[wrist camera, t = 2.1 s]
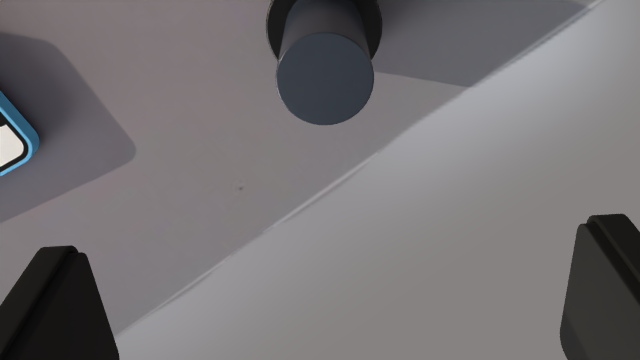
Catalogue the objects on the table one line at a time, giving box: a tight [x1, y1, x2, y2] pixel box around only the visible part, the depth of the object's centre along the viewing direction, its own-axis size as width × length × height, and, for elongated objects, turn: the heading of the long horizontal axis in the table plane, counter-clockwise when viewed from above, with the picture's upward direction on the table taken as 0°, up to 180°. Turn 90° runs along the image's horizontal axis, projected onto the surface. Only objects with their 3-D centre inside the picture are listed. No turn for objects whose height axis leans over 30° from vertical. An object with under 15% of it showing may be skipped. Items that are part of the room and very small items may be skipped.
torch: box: [266, 0, 382, 125], centre depth 23 cm, size 5×5×9 cm
